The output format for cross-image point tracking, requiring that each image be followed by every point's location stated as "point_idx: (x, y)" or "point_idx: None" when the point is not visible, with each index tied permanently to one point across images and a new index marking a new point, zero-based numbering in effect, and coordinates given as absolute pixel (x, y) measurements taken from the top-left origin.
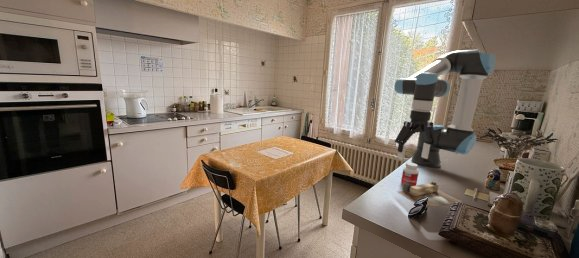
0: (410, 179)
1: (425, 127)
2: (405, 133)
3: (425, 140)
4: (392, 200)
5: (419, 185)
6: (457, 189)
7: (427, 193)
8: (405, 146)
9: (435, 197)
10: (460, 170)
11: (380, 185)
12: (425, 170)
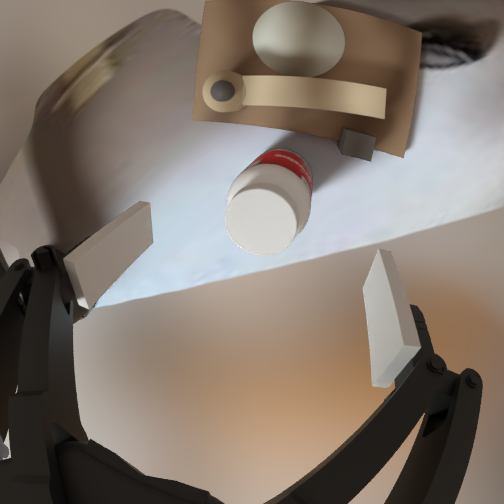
0: (301, 170)
1: (24, 490)
2: (442, 487)
3: (69, 319)
4: (449, 138)
5: (323, 104)
6: (105, 105)
7: None
8: (403, 336)
9: (286, 46)
10: (23, 212)
11: (380, 238)
12: None
